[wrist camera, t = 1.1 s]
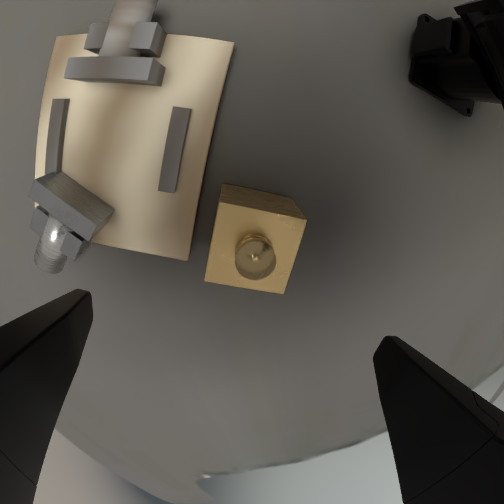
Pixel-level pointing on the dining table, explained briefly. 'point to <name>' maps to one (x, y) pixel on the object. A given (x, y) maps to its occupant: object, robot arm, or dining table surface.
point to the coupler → (254, 239)
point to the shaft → (64, 219)
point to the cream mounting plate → (134, 124)
